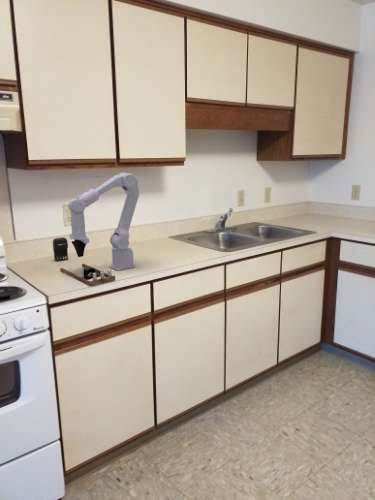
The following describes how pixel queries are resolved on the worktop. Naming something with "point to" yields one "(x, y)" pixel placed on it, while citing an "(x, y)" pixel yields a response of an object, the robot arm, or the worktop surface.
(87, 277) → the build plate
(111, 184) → the robot arm
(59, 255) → the battery charger
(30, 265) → the worktop surface
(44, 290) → the worktop surface
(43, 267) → the worktop surface
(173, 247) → the worktop surface
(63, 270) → the loading bay
